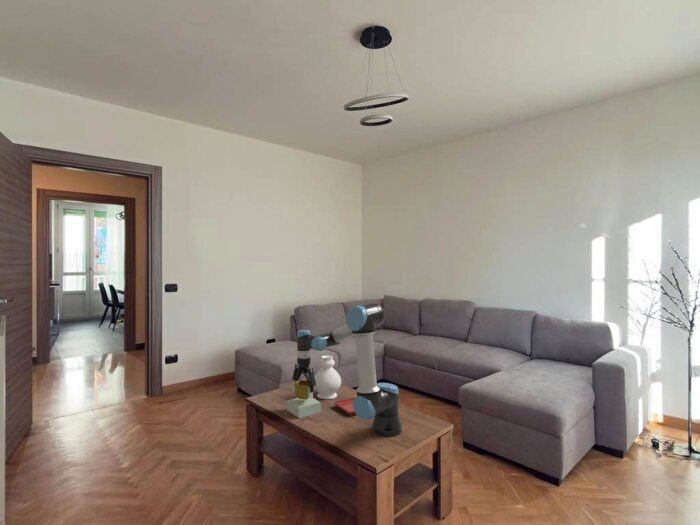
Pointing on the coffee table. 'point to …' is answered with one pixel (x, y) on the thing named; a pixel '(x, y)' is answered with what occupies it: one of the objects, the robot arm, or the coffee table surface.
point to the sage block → (303, 407)
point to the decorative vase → (327, 379)
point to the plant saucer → (346, 406)
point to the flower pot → (301, 389)
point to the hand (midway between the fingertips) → (303, 395)
